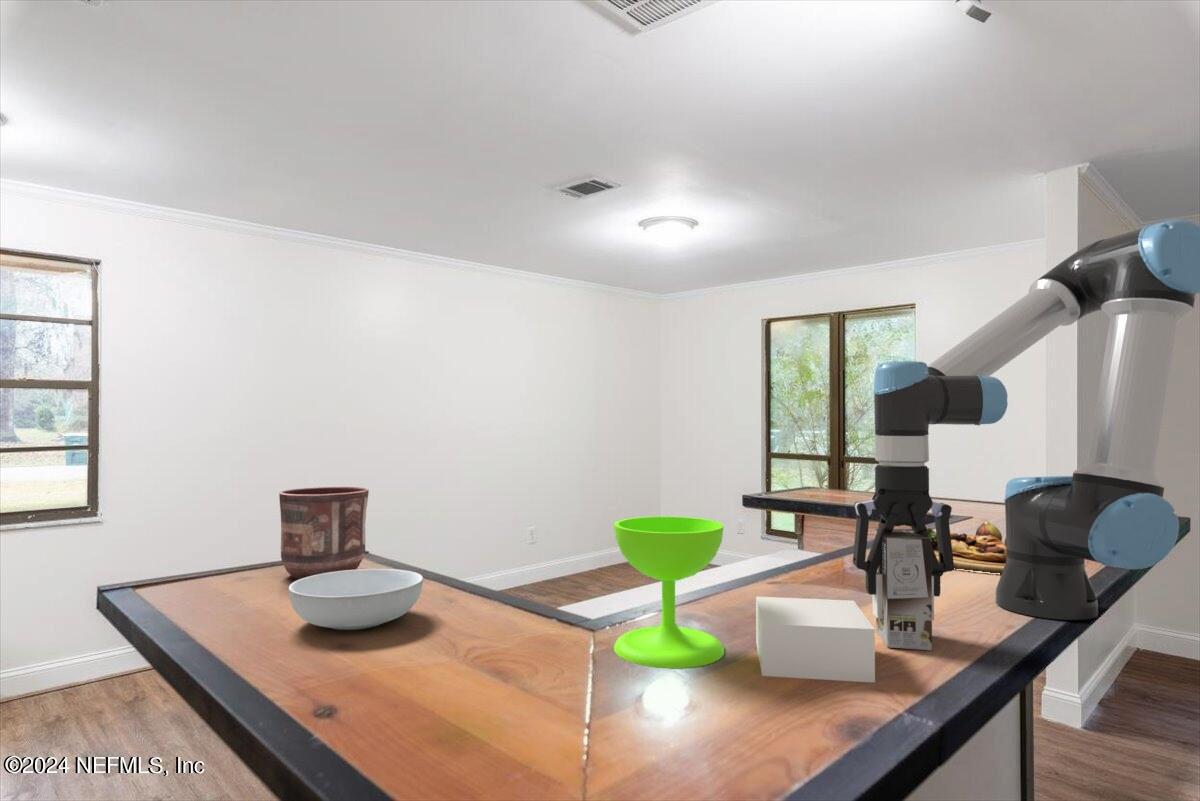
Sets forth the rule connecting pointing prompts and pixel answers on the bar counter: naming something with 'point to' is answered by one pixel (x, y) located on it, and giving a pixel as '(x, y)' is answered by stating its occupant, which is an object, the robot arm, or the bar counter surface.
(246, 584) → the bar counter surface
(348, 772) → the bar counter surface
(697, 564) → the wineglass
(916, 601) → the coffee box
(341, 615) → the serving bowl
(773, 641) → the plinth block
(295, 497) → the pottery
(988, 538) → the wooden plate with food
